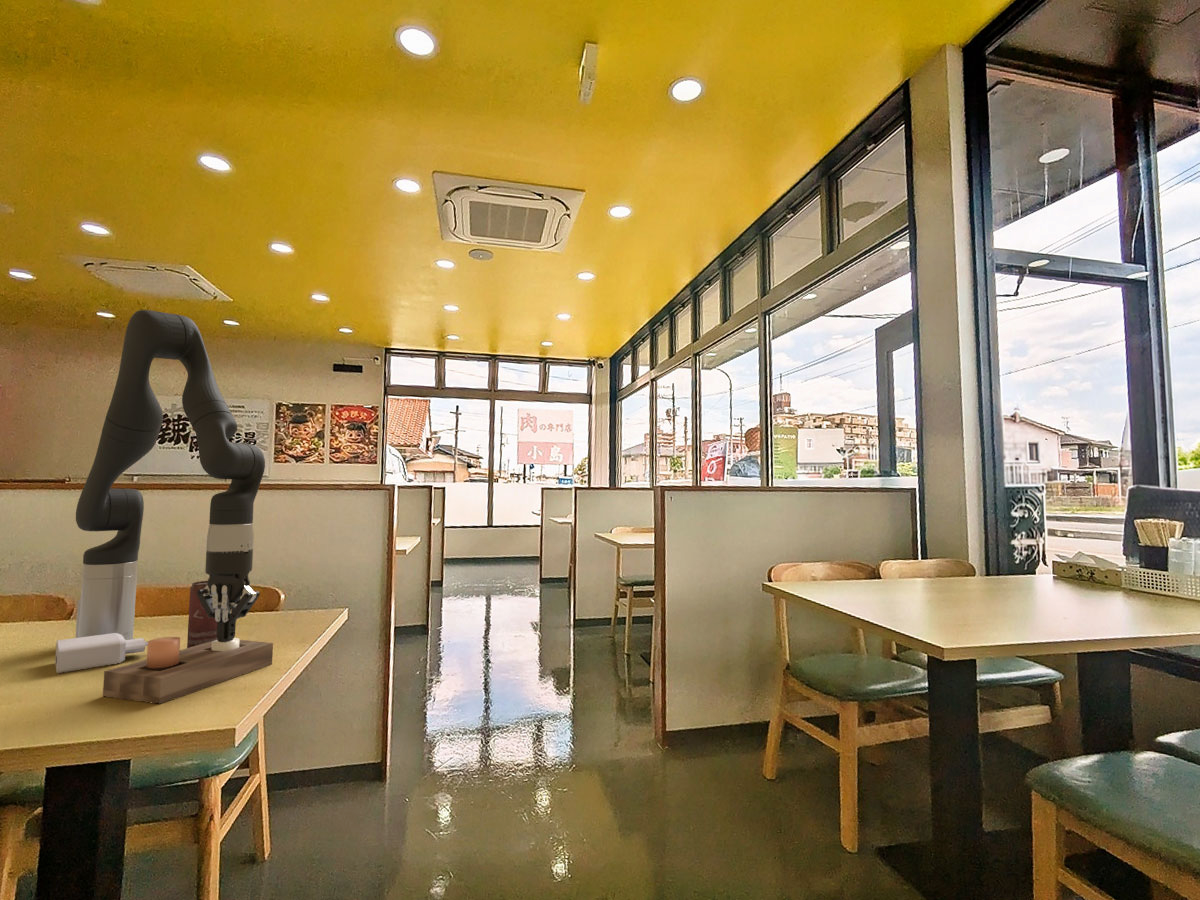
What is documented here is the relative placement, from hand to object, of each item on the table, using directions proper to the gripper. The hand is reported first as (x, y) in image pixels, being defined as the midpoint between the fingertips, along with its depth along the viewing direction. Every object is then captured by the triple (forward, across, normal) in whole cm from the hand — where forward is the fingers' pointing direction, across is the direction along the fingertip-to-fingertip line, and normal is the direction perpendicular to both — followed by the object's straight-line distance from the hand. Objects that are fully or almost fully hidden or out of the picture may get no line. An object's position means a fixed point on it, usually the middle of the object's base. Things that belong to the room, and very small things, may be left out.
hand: (225, 641), depth 110 cm
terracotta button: (+1, 0, -12) cm, 12 cm away
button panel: (+5, 0, -6) cm, 8 cm away
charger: (+6, -26, -2) cm, 27 cm away
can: (+5, -15, +9) cm, 18 cm away
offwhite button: (+4, 0, 0) cm, 4 cm away
